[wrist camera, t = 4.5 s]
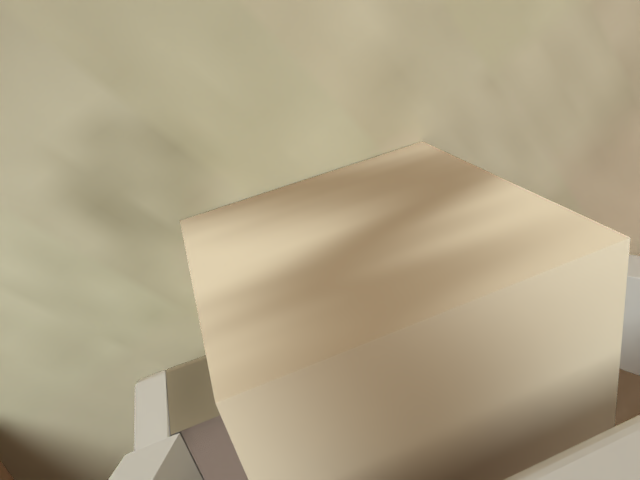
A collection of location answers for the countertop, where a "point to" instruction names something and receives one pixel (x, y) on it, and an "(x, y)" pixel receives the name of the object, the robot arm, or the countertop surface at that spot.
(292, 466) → the birch cube
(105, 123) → the countertop surface
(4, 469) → the walnut block
